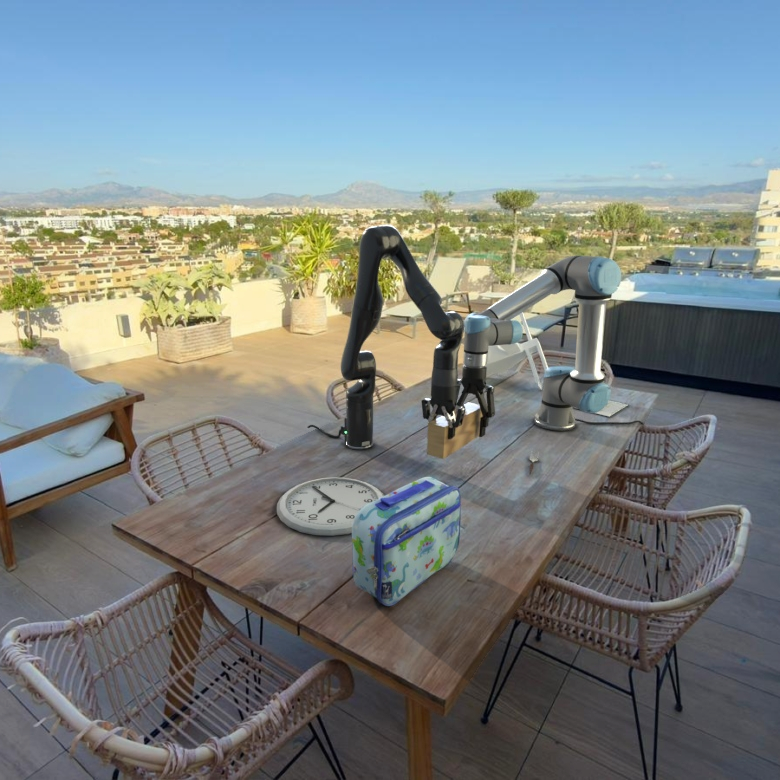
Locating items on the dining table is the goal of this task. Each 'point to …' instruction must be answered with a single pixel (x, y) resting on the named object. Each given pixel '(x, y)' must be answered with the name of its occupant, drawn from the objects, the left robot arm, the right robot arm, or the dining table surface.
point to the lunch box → (405, 538)
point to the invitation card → (611, 408)
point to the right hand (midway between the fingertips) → (470, 432)
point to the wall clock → (325, 505)
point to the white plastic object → (515, 355)
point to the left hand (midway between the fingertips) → (441, 435)
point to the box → (463, 434)
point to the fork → (533, 461)
